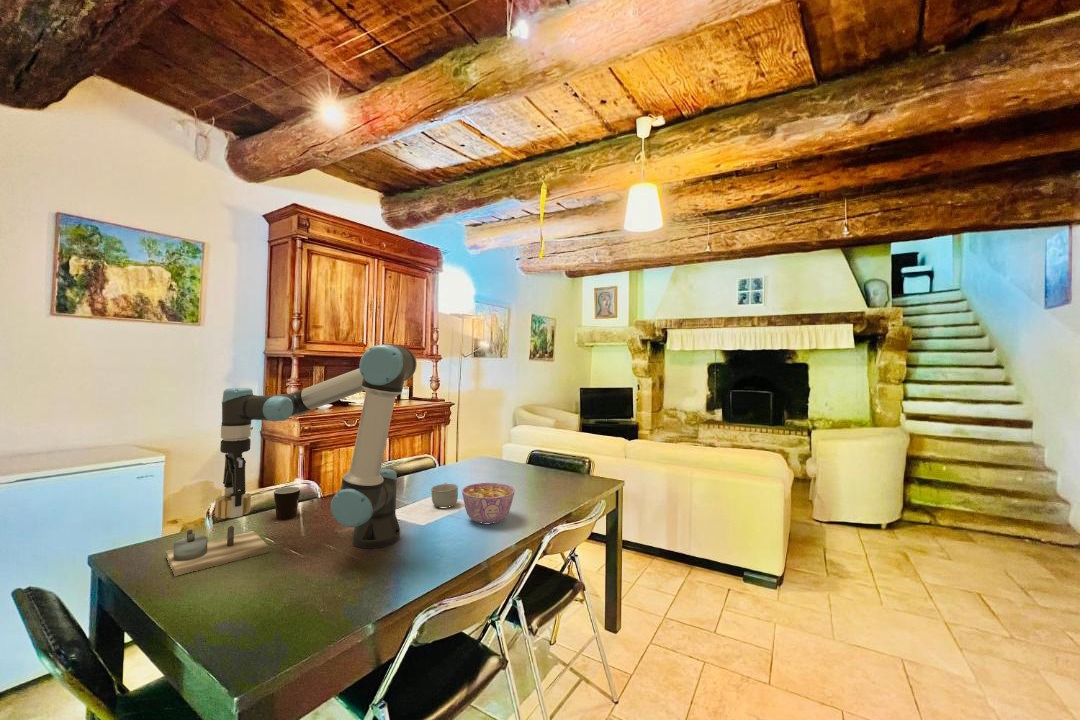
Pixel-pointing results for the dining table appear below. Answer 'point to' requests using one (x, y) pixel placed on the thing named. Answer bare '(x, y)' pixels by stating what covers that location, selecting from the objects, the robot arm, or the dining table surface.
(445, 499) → the teacup
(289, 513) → the coffee mug
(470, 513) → the bowl of food
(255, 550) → the birch board
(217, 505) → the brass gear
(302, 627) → the dining table surface
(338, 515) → the robot arm
